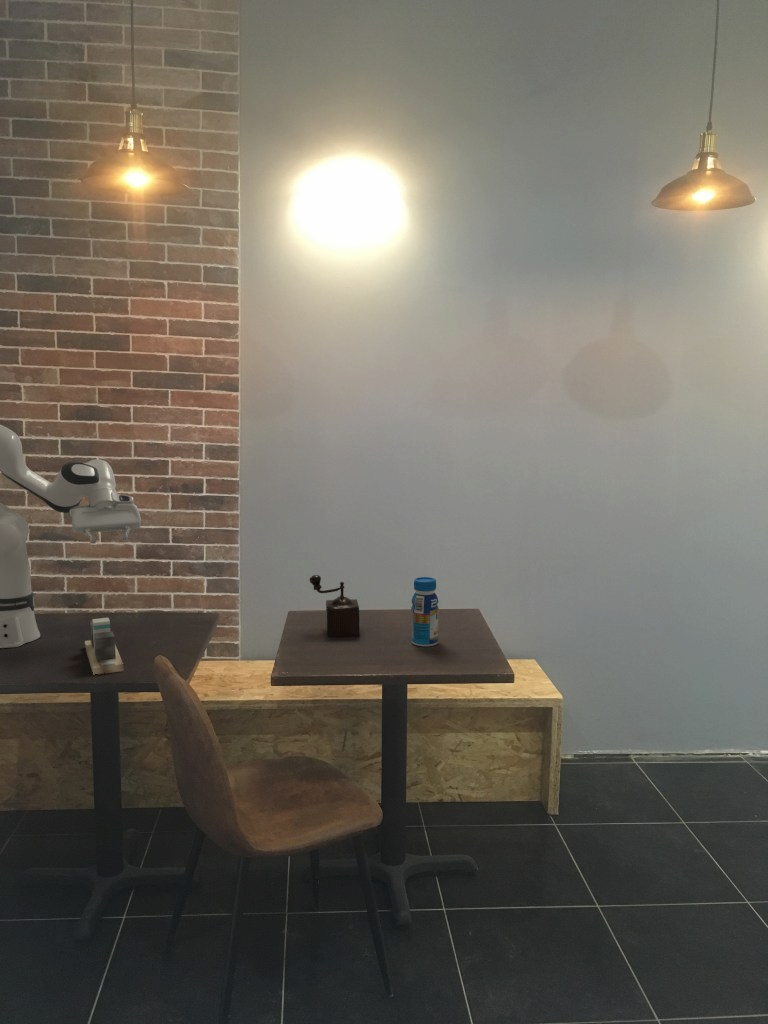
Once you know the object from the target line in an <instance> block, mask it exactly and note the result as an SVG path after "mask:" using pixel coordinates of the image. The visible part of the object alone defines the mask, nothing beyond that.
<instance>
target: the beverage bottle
mask: <svg viewBox="0 0 768 1024" xmlns="http://www.w3.org/2000/svg"><path fill="white" fill-rule="evenodd" d="M413 590H414V591H415V592H414V594H413V595H412V597H411V604H412V605H411V607H410V613H411V637H410V638H411V639H410V640H411V643H412V645H415V646H418V647H432V646H433V647H434V646H436V645H437V644H438V643H439V611H440V609H439V606H438V604H439V598H438V596H437V594H436V592H435V591H437V579H436V578H435V577H431V576H430V577H429V576H419V577H415V578H414V580H413Z"/></svg>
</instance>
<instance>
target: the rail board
mask: <svg viewBox="0 0 768 1024" xmlns="http://www.w3.org/2000/svg"><path fill="white" fill-rule="evenodd" d="M89 630H90V631H89V632H90V640H85V641H84V649H85V648H86V649H85V652H86V654H87V658H88V663H89V665H90V668H91V672H93V673H92V675H93V676H95V674H98V675H105V674H111V673H117V672H119V673H120V672H124V671H125V670H124V662H123V660H122V658H121V655H120V653H119V650H118V648H117V645H116V637H115V634H114V632H113V631H111V630H110V632H103V633H95V634H94V639H93V623H92V620H90V621H89ZM94 642H95V651H94ZM104 673H105V674H104Z"/></svg>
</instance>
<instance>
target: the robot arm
mask: <svg viewBox="0 0 768 1024" xmlns="http://www.w3.org/2000/svg"><path fill="white" fill-rule="evenodd" d="M23 452H24V451H23V445H22V440H21V439H20V437H19V436H18V434H17V433H16V432H14V431H13V430H11V428H8V427H6V426H5V425H2V424H0V473H1V474H2V476H4V477H5V478H7V479H8V480H9V481H11V482H13V483H14V484H16V485H17V486H19V487H21V488H22V489H24V490H26V491H27V492H29V493H30V494H33V496H35V497H37V498H38V499H40V500H42V501H43V503H45V504H47V506H48V507H50V508H51V509H52V510H54V511H56V512H58V513H64V514H66V513H67V514H68V513H69V518H71V519H72V520H71V521H72V522H71V527H72V532H73V534H84V535H85V536H86V538H88V539H89V544H96V535H92V533H101V532H103V533H105V532H116V531H124V532H123V533H122V534H121V538H122V541H123V542H124V541H125V542H126V541H129V534H130V532H131V530H138V529H140V528H141V525H142V518H141V513H140V510H139V508H138V506H137V505H136V504H135V503H134V502H135V501H134V497H133V496H131V495H126V494H120V493H118V492H117V490H116V488H117V484H116V483H117V482H116V478H115V474H114V471H113V468H112V466H111V465H110V463H108V461H105V460H103V459H99V458H95V459H91V460H89V461H87V462H79V461H71V462H66V463H64V464H63V465H62V466H61V469H60V470H59V471H58V474H57V475H56V477H55V479H54V481H53V482H51V481H49V480H47V479H46V478H44V477H43V476H41V475H39V474H37V473H36V472H34V471H33V470H31V469H30V468H29V467H28V466H27V464H26V463H25V460H24V455H23ZM84 496H87V499H88V505H80V504H81V501H82V500H83V497H84ZM27 521H28V520H26V518H25V517H24V516H22V515H21V514H19V513H18V512H17V511H14V510H13V509H12V508H10V507H8V506H7V505H5V504H4V503H2V502H0V649H4V648H5V649H6V648H17V647H21V646H23V645H24V644H26V643H27V644H28V643H30V642H34V641H35V640H37V639H39V638H40V637H41V633H40V630H39V628H38V624H37V621H36V616H35V615H36V614H35V607H36V606H35V596H34V593H33V591H32V579H31V577H32V576H31V567H30V563H29V556H28V555H29V554H28V549H27V548H28V547H27V538H28V535H29V532H30V527H29V524H28V522H27Z"/></svg>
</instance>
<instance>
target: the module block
mask: <svg viewBox="0 0 768 1024" xmlns="http://www.w3.org/2000/svg"><path fill="white" fill-rule="evenodd" d="M91 621H92V623H93V639H94V634H95V633H103V632H111V621H110V618H109V617H101V618H93V619H92V620H91ZM94 651H95V642H94Z"/></svg>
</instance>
